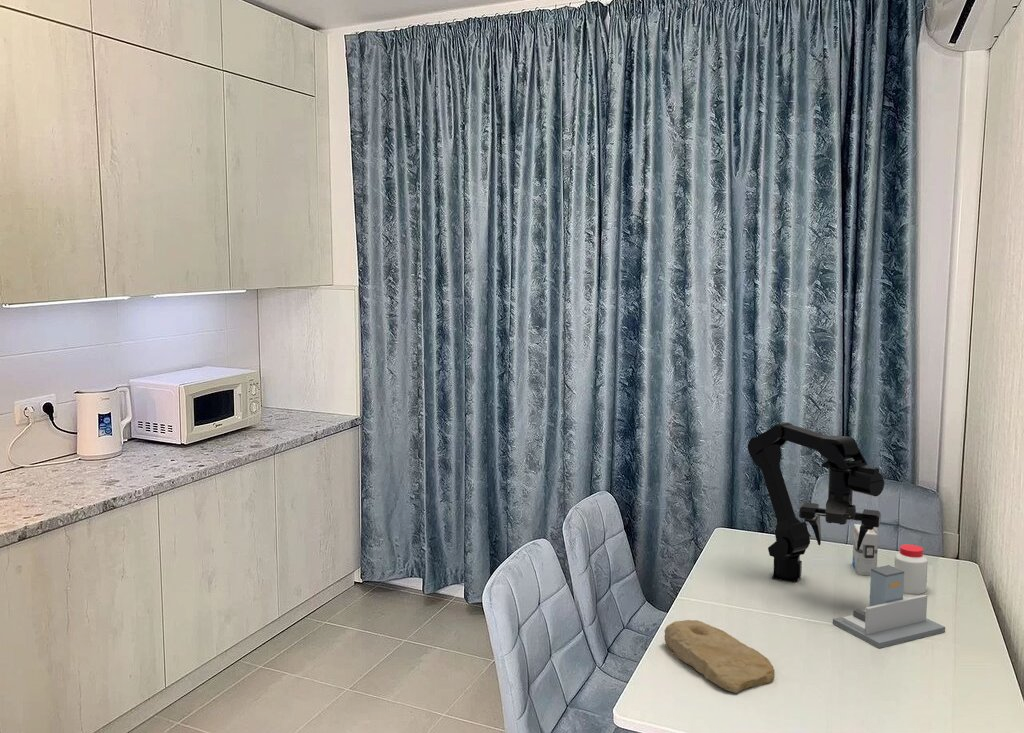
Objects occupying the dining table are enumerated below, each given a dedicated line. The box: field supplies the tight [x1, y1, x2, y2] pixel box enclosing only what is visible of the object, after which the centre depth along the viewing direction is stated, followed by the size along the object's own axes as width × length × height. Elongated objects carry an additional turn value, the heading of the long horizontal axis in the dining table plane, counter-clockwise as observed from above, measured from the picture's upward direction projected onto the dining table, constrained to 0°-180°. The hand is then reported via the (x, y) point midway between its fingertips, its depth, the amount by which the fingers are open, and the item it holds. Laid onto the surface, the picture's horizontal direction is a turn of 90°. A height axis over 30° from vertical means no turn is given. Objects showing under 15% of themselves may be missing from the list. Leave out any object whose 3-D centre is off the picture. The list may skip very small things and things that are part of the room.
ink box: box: [852, 523, 879, 576], centre depth 233 cm, size 9×5×15 cm, turn 168°
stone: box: [664, 619, 776, 694], centre depth 182 cm, size 15×26×6 cm, turn 25°
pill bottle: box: [893, 543, 929, 595], centre depth 220 cm, size 8×8×11 cm
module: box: [869, 564, 904, 607], centre depth 197 cm, size 5×6×12 cm
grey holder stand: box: [832, 594, 946, 649], centre depth 197 cm, size 14×20×7 cm
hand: (838, 547), depth 214 cm, fingers open, 9 cm apart
